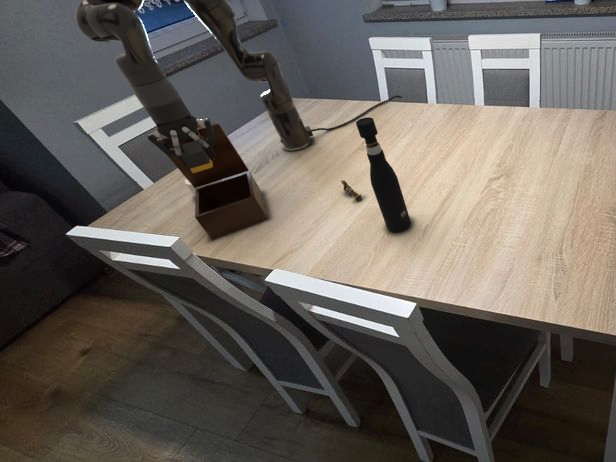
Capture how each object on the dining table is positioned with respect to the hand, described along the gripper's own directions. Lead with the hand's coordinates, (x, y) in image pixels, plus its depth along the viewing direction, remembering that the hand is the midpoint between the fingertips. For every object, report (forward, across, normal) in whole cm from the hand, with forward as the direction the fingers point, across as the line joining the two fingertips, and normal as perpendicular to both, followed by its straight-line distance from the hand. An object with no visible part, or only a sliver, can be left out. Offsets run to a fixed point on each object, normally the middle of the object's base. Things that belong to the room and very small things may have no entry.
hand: (202, 162), depth 105 cm
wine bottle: (+19, +38, -33) cm, 54 cm away
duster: (0, 0, 0) cm, 0 cm away
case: (+19, 0, +2) cm, 19 cm away
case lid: (+2, 0, +8) cm, 8 cm away
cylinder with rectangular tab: (+19, -7, +22) cm, 30 cm away
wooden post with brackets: (+19, +31, -11) cm, 38 cm away
